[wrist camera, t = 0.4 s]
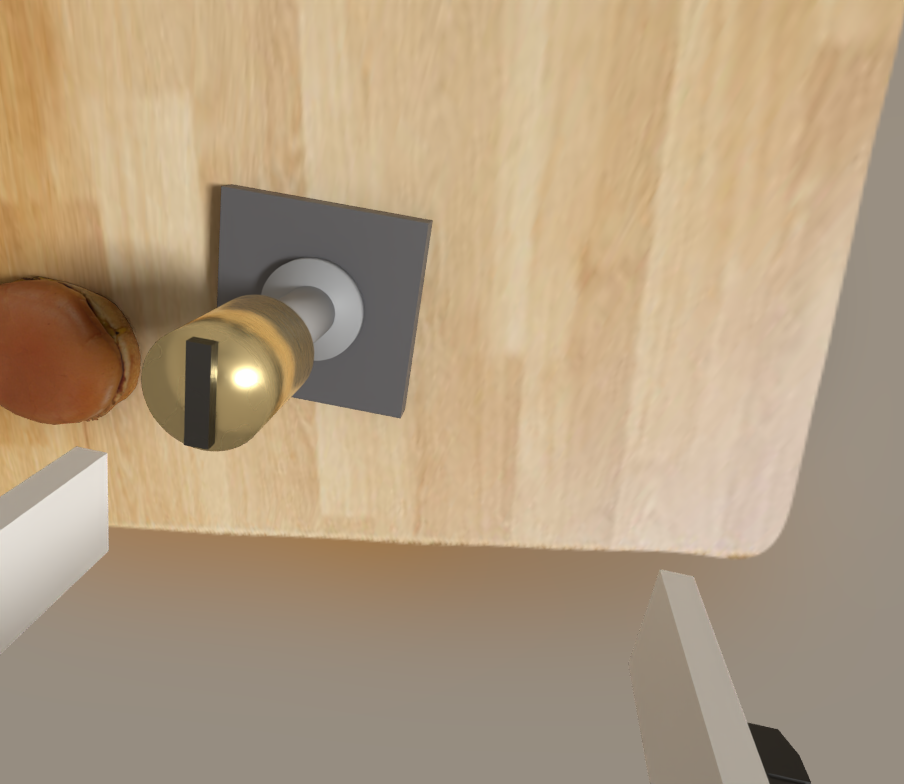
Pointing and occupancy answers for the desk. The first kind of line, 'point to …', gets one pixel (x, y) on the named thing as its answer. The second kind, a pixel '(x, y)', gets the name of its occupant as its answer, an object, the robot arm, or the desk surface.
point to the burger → (63, 352)
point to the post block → (332, 287)
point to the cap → (227, 372)
